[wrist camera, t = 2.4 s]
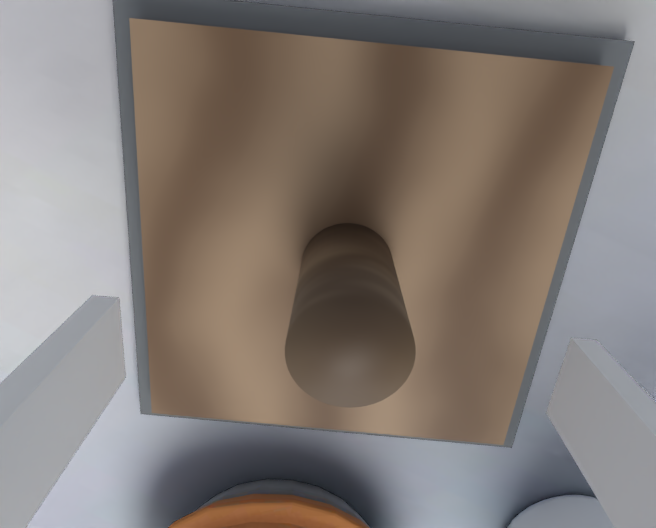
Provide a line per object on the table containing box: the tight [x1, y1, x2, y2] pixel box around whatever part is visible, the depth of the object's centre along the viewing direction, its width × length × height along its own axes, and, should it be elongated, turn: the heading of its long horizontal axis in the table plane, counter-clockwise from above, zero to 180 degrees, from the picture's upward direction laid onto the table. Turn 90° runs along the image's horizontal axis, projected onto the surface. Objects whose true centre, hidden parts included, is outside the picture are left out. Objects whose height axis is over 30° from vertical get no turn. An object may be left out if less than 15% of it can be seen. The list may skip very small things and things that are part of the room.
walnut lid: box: [129, 18, 614, 445], centre depth 18 cm, size 18×18×8 cm
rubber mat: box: [113, 0, 635, 448], centre depth 22 cm, size 20×20×1 cm
